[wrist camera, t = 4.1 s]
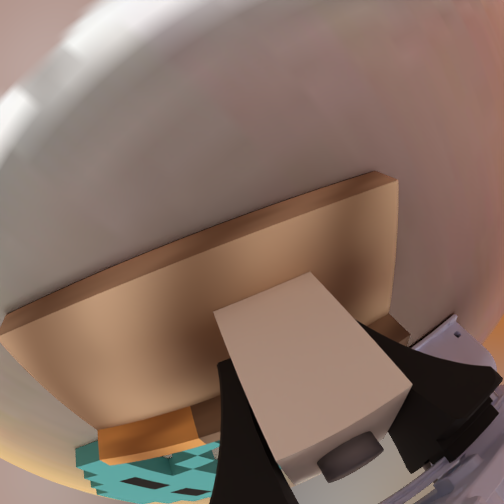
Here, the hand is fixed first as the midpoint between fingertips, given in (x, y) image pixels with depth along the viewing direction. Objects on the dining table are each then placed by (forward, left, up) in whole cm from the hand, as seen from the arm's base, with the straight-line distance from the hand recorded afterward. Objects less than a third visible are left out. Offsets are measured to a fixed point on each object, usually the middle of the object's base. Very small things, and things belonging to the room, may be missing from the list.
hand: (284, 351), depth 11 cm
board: (+2, 0, -3) cm, 3 cm away
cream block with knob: (0, 0, -1) cm, 1 cm away
